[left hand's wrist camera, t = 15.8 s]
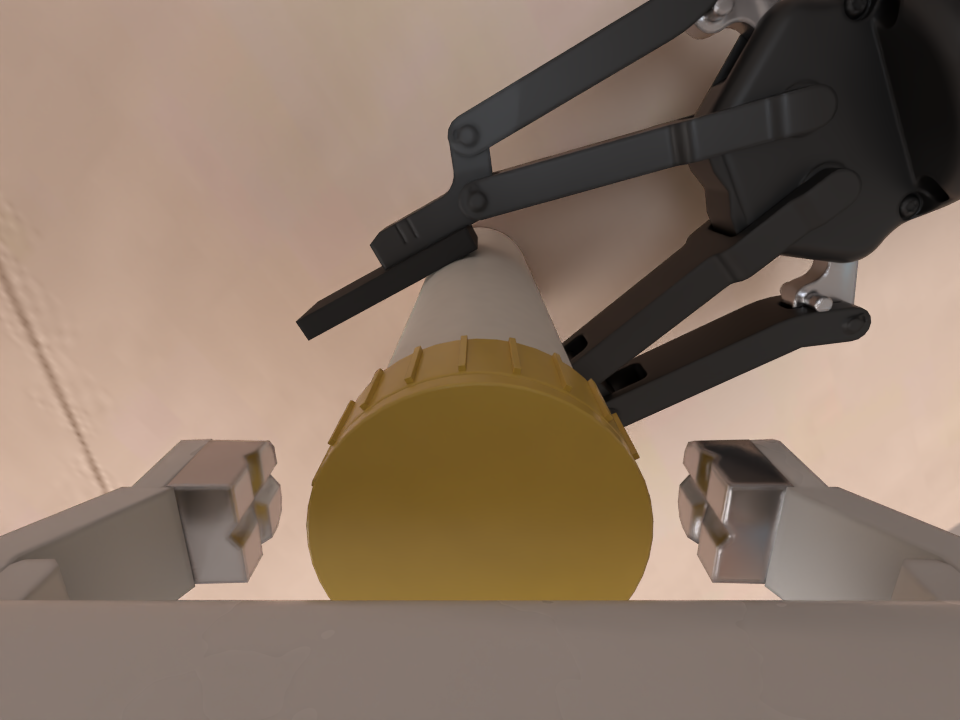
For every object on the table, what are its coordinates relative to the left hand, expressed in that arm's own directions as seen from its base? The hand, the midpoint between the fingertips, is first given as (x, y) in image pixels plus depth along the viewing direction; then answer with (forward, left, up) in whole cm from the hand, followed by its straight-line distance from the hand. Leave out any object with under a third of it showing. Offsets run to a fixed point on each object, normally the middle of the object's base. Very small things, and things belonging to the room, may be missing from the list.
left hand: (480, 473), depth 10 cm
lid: (0, 0, +2) cm, 2 cm away
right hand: (-5, +2, -10) cm, 12 cm away
